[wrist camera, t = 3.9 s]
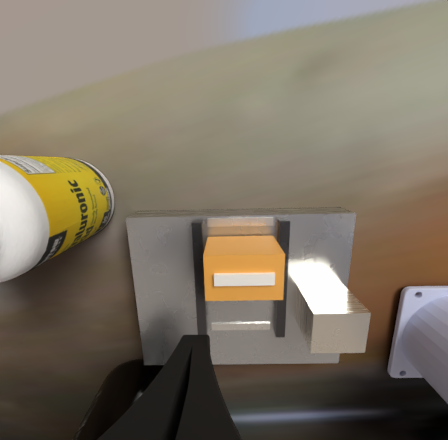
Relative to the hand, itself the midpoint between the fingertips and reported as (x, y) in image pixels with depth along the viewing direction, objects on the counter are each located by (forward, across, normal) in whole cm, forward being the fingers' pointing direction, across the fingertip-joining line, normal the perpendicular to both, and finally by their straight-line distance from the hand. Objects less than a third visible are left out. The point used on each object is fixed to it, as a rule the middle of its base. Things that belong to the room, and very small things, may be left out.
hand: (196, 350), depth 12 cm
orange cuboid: (+4, -3, -4) cm, 6 cm away
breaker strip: (+6, -2, -1) cm, 6 cm away
